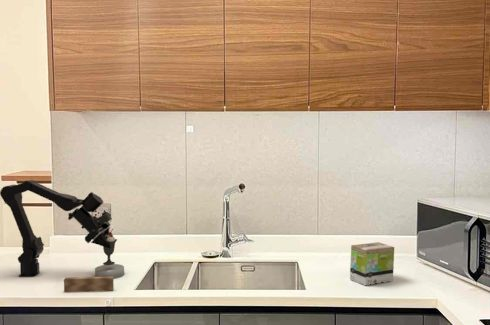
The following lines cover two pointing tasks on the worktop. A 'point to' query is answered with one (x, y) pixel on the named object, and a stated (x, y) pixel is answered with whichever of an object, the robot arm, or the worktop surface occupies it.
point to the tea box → (371, 263)
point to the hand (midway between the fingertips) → (112, 245)
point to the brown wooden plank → (88, 284)
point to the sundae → (109, 251)
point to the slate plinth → (109, 271)
